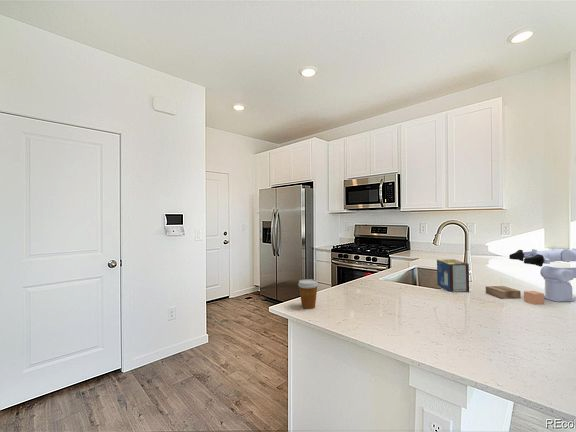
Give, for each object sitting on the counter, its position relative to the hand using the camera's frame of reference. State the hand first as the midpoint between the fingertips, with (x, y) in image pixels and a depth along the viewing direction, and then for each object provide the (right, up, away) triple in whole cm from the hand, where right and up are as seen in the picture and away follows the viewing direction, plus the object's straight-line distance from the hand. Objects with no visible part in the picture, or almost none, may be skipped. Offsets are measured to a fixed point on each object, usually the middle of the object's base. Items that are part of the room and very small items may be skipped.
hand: (517, 258), depth 131 cm
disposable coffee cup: (-102, -22, -4) cm, 104 cm away
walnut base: (0, -21, +8) cm, 22 cm away
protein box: (-17, -21, +24) cm, 36 cm away
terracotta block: (+5, -20, -3) cm, 21 cm away
